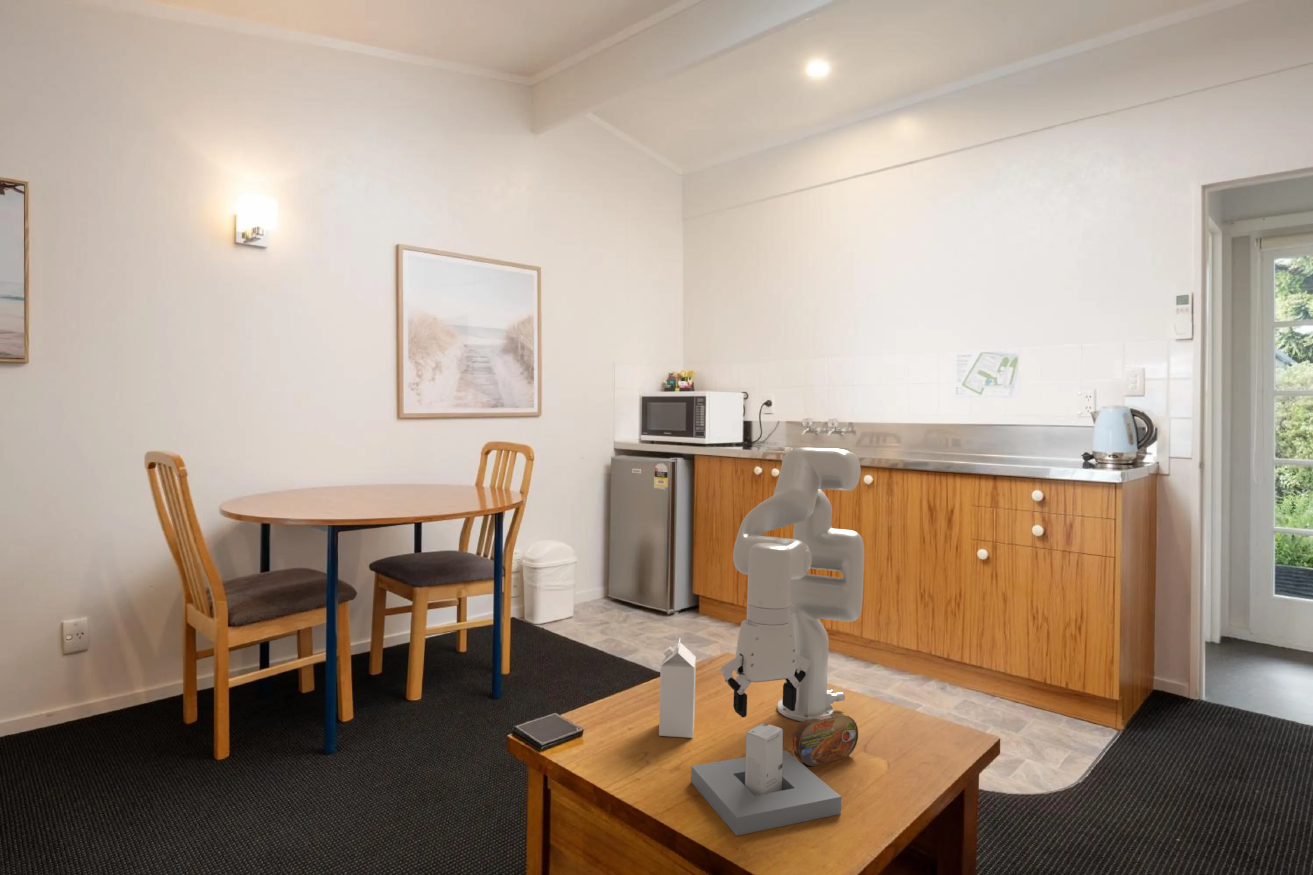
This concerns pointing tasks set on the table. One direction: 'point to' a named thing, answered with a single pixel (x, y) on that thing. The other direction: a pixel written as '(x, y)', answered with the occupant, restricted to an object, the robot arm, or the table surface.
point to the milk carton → (677, 692)
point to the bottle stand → (764, 795)
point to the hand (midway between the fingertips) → (764, 711)
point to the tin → (825, 739)
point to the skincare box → (764, 759)
